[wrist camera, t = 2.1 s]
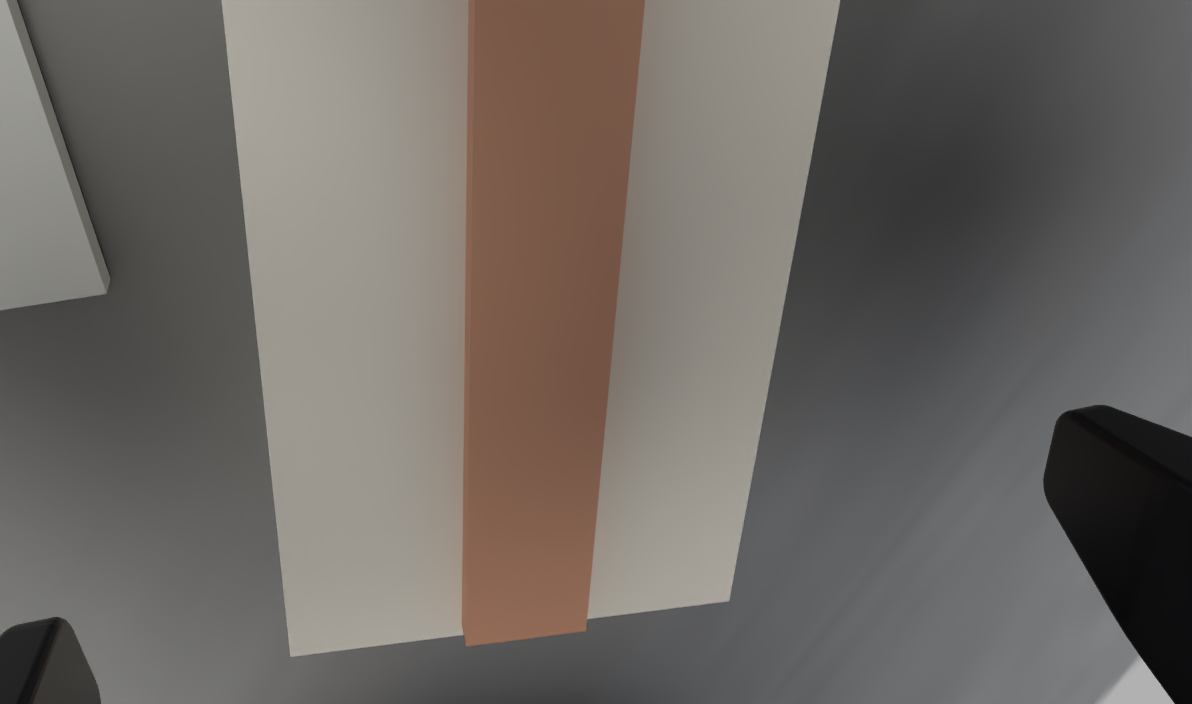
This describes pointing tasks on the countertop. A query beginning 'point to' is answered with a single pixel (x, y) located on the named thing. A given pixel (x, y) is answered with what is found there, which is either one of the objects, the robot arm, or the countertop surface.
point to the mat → (38, 188)
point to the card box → (516, 298)
